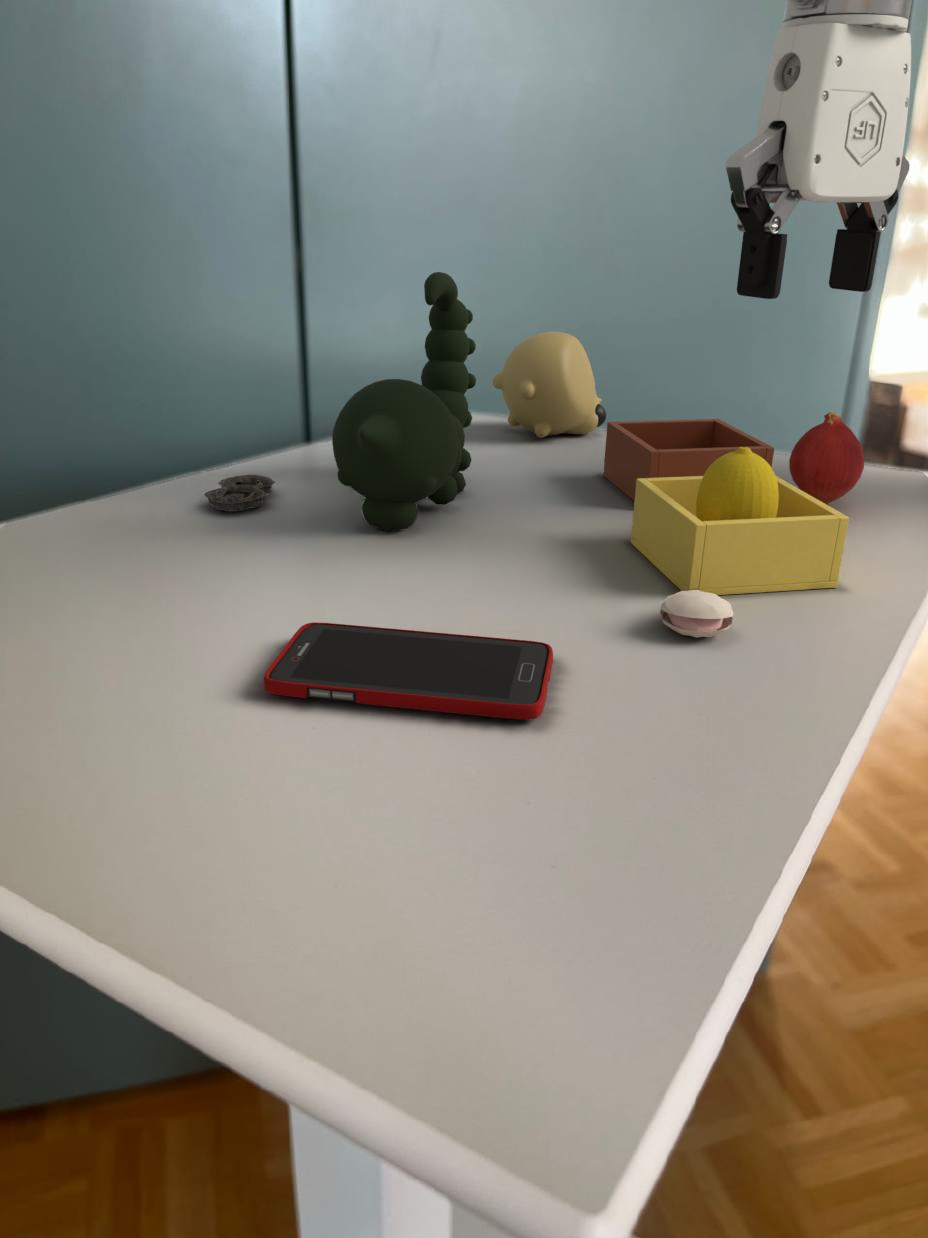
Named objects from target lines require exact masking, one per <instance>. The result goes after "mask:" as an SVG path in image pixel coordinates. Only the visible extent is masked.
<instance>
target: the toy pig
mask: <svg viewBox="0 0 928 1238" xmlns="http://www.w3.org/2000/svg"><path fill="white" fill-rule="evenodd" d="M492 386H493V387H494V388H495V389H498V390H501V393H502V397H503V399H504V402H505V404H506V407H507V409H508V410H509V414H508V417H507V422H508V424H509V426H510V427H518V426H522V427H523V428H525V429H526V430H527V431H528V432H531V433H534V434H535V435H536V437H538V438H541V439H542V438H546V437H547V436H556V435H560V434H568V435H585V434H589V433H591V432H593V431H594V430H596V429H597V428H599V427H601V426H603V424H605V421H606V420H607V412H606V409H605V407H604V406H603V405H601V403H602V401H603V400H602V398H601V397H599V396H598V395H597V391H596V383H595V378H594V373H593V369H592V365H591V362H590V359H589V357H588V355H587V352H586V350H585V348H584V346H583V344H582V342H581V341H580V340H579V339H578V338H577V337H575V336H574V335H573V334H570V333H567V332H564V331H563V332H562V331H546V332H541V333H536V334H534V335H532V336H529V337H527V338H525V339H524V340H522V341H521V342H520V343H518V344H517V345H516V346H515V347H514V348H513V349H512V351H511V352H510V353H509V355H508V356H507V358H506V360H505V362H504V364H503V368H502V371H500V372H499V373H496V374H495V376H494V377H493V378H492Z"/></svg>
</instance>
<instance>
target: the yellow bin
mask: <svg viewBox="0 0 928 1238" xmlns="http://www.w3.org/2000/svg"><path fill="white" fill-rule="evenodd" d="M702 478H703V476H688V477H662V478H646V479H645V478H639V479H637V480H636V491H635V502H634V501H633V502H634V503H633V505H634V506H633V513H632V515H633V516H632V522H631V523H632V525H631V535H630V536H631V537H630V544H631V545H632V546H634V547H635V548H636V549H637V550H638V551H639V552H640V553H641V554H642V555H643V556H644V557H645V558H647V560H648V561H649V562H650V563H651V564H652V565H654V566H655V567H656V568H657V569H658V570H659V571H660V572H661V573H662V574H663V575H664V576H665V577H666V578H667V579H668V580H669V581H670V582H672V584H674V585H675V587H676V588H678V589H679V590H680V591H692V590H699V591H703V592H708V593H713V594H716V595H717V596H724V595H725V596H726V595H739V594H740V595H742V594H743V595H744V594H757V593H758V594H759V593H773V592H774V593H775V592H789V591H805V590H823V589H835V588H838V583H839V577H840V570H841V566H842V560H843V554H844V550H845V544H846V538H847V532H848V528H849V522H850V517H849V516H848V515H845V514H844V513H842V512H840V511H838V510H837V509H835V508H833V507H832V506H830V505H828V504H827V505H826V504H824V503H823V502H821V501H819V500H817V499H816V498H814V497H812V496H810V495H809V494H807V493H805V492H803V491H802V490H800V489H799V487H796V486H795V485H793V484H791V483H789V482H788V481H786V480H784V479H783V478H780V477H779V476H777V475H776V478H777V483H778V491H779V502H778V510H777V515H776V518H760V519H740V520H719V521H703V522H702V521H701V520H699V519H698V518H697V515H696V501H697V494H698V490H699V486H700V483H701V481H702Z"/></svg>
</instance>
